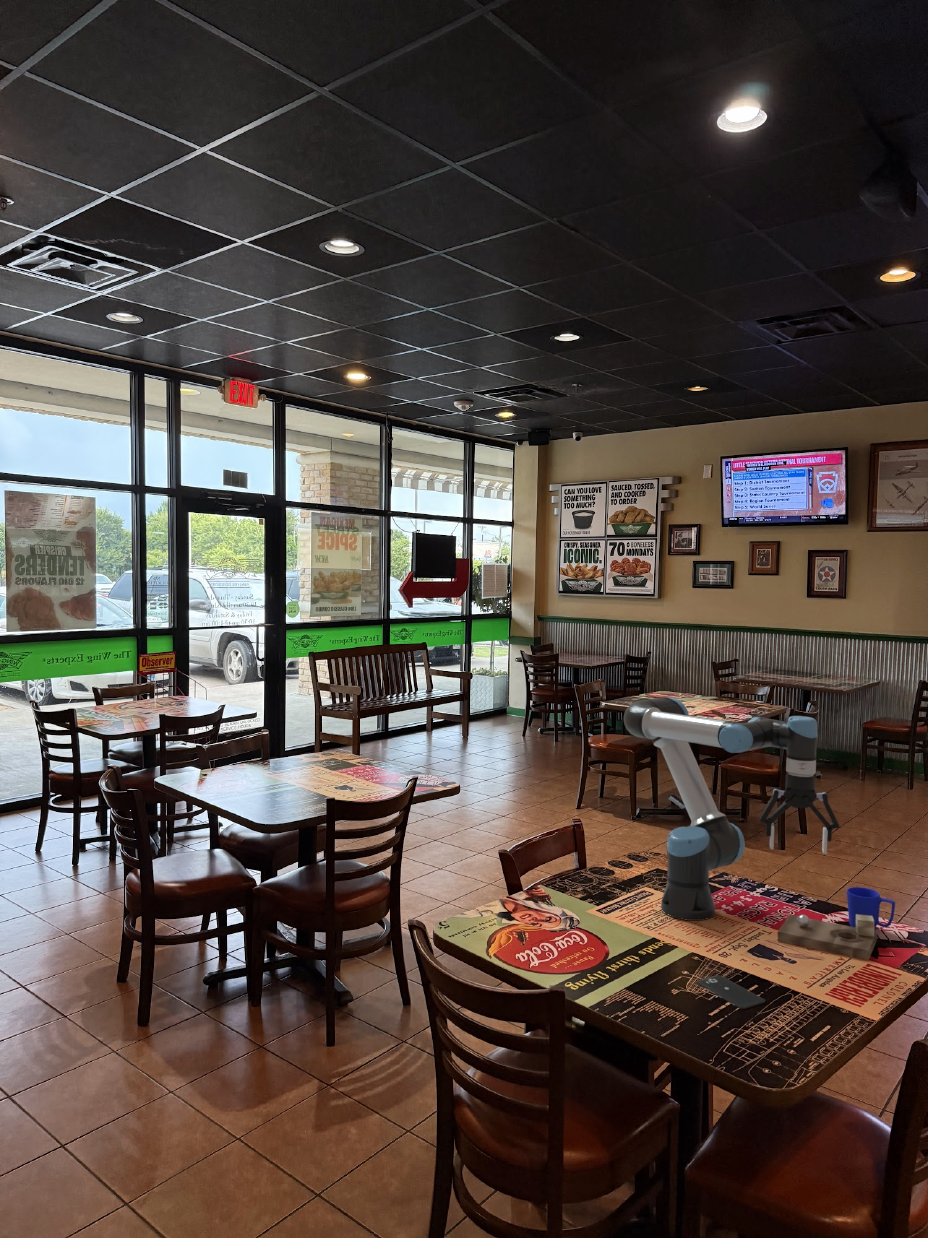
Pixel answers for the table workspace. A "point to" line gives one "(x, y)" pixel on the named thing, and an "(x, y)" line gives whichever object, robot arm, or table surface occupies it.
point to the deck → (827, 937)
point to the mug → (866, 905)
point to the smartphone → (731, 992)
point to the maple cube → (864, 925)
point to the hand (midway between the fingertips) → (797, 850)
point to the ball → (803, 921)
